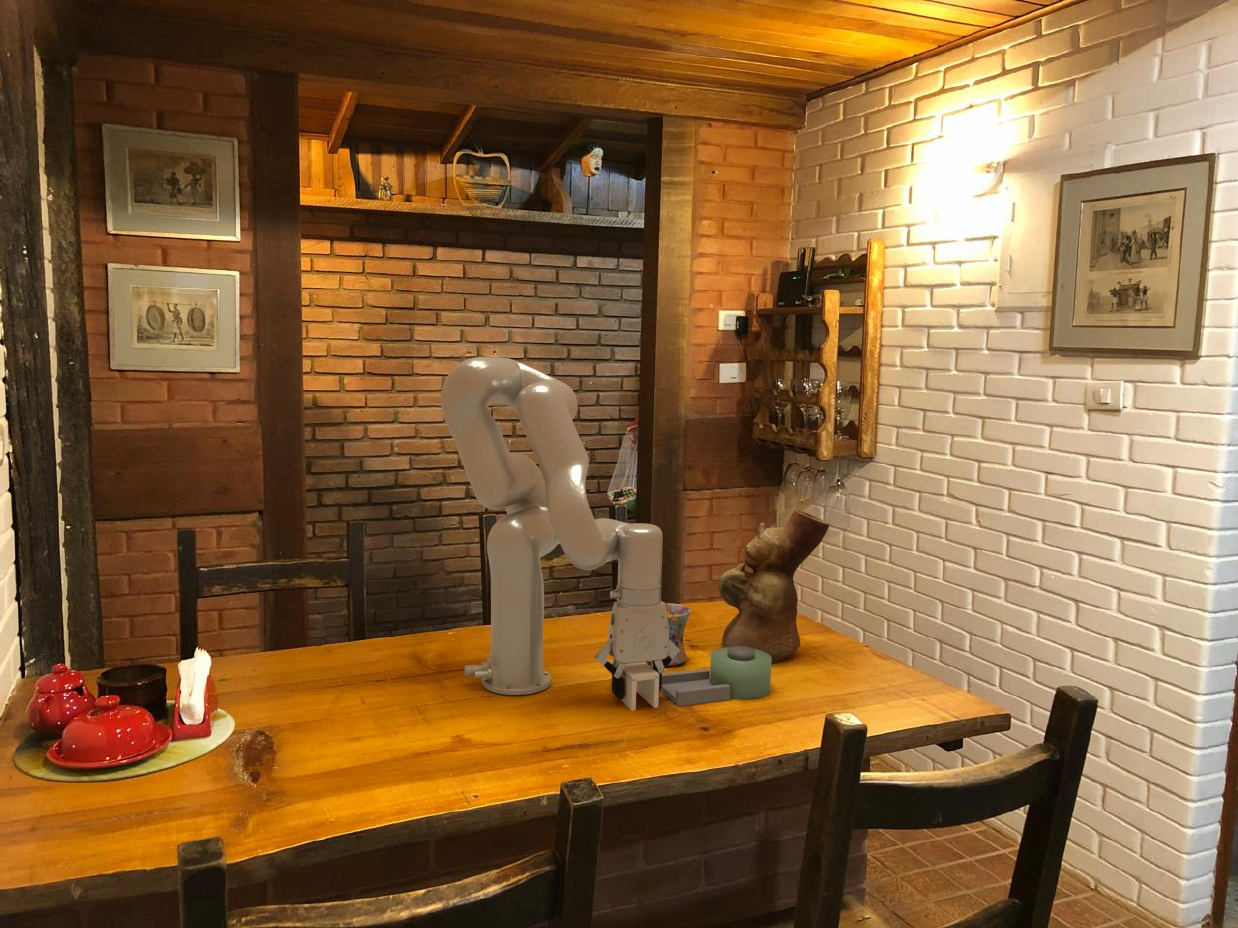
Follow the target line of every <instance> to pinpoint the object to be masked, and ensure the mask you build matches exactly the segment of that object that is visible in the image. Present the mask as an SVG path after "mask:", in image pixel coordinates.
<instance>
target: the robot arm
mask: <svg viewBox="0 0 1238 928" xmlns="http://www.w3.org/2000/svg"><path fill="white" fill-rule="evenodd" d="M440 393H441V394H440V404H441V405H440V407H441V412H442V415H443V416H442V417H443V419H444V421H445V423H446V426H447V428H448V430H449V433H450V434H451V438H452V439H453V441H454V445H455V447H456V449H457V452H458V455H459V458H460V460H461V463H462V465H463V468H464V471H465V473H466V476H467V478H468V481H469V484H470V487H471V488H472V491H473V495H474V496H475V498H476V500H477V501H478V502H479V504H480V505H481V506H483V507H484V508H486V509H490V510H501V509H505V512H506V515H505V516H503V517H501V518H499V519H498V521H496V522H495V523H494V524H493V525H492V527H491V529H490V530H489V533H488V535H487V541H486V549H487V558H488V564H489V571H490V572H489V573H490V602H491V603H490V656H487V657H486V661H483V662H481V664H470V665H469V664H468V665H464V667H463V671H464V676H465V677H473V679H475V680H477V679H481V685H482V687H484V689H485V690H487V691H489V692H492V693H495V694H497V695H505V696H525V695H531V694H535V693H540V692H541V691H544V690H546V689H547V688H549V687H550V686H551V684H552V676H551V674H550V673H549V672H548V671H546V670H544V629H545V628H544V622H545V621H544V619H545V618H544V616H545V585H544V576H543V575H544V574H543V572H542V571H543V570H542V565H541V558H542V557H544V556H546V555H548V554H550V553H551V552H552V551H554V550H555V549H556V548H557V546H558V545H559V544H560V547H561V549H562V551H563V553H564V554H565V556H566V558H567V559H568V560H569V562H570V563H571V564H572V565H573V566H575V567H576V568H578V569H581V570H583V571H594V570H595V569H599V568H600V567H603V565H605V564H606V563H608V562H611V561H613V560H618V562H617V563H618V565H617V570H618V571H617V584H616V589H614V590H610V592H609V596H610V599H615V600H617V601H614V602H613V606H612V610H611V614H610V619H609V627H608V638H607V641H606V643H605V644H603V646H601V648H600V649H599V650H598V651H597V653H596V654H595V655H594V658H595V660H597V662H599V663H600V665H602V666H603V667H604V668H605V669H606V670H607V671H608V672H609V673H610V674H611V694H613V695H614V696H615V697H616V698H617V699H618V700H619V701H621V700H623V698H624V678H623V677H622V672H623V670H624V667H625V665H626V664H631V663H641V662H646V663H651V665H652V666H651V667H652V668H653V669H654V670H655V671H656V672H658V673H659V695H660V692H661V690H660V689H661V687H662V674H665V671H666V668H667V667H668V665H669V664H670V662H671V661H672V659H673V658H674V657H675V656H676V655H677V654H678V653H679V648H678V647H677V646H676V645H675V644H674V643H673V642H672V641H671V640H670V639H669V627H668V617H667V610H666V605H665V603H666V602H665V601H662V600H661V599H662V570H663V568H662V567H663V563H662V562H663V541H664V540H663V531H662V529H661V528H660V527H659V526H657V525H654V524H651V523H635V522H633V523H630V522H629V523H628V522H624V521H620V520H616V519H612V518H605V517H602V518H596V519H595V517H594V515H593V512H592V510H591V508H590V505H589V501H588V497H587V492H586V490H587V489H586V480H587V475H588V471H589V463H590V459H589V455H588V452H587V451H586V448H585V446H584V444H583V442H582V440H581V437H580V435H579V433H578V431H577V429H576V426H575V424H574V422H573V420H574V419H575V417H576V415H577V414H578V413H577V412H578V409H579V408H578V406H579V405H578V398H577V396H576V393H575V391H574V390H573V389H572V388H571V387H570V386H569V385H567V383H564V382H563V381H561V380H558V379H556V378H554V377H552V376H550V375H548V374H546V373H543V372H541V371H539V370H537V369H535V368H533V367H530V366H528V365H526V364H524V363H521V362H519V361H517V360H514V359H512V358H508V357H501V356H500V357H498V356H497V357H496V356H492V357H491V356H477V357H471V358H468V359H467V358H466V359H465V360H463V361H461V362H460V363H458V364H457V365H456V366H454V367H453V368H452V369H451V371H449V373H448V375H447V376H446V378H445V379H444V383H443V386H442V389H441V392H440ZM496 404H497V405H499V404H503V405H505V406H508V407H510V408H512V409H514V410H516V413H517V417H518V419H519V422H520V424H521V426H522V429H523V431H524V433H525V436H526V438H527V440H528V442H529V445H530V446H531V447H530V448H531V449H532V451H533V454H534V456H535V458H536V461H537V463H538V466H537V464H536V463H535V462H534V460H532V459H531V458H530V457H529V456H527V455H525V454H523V453H519V452H510V450H509V447H508V446H507V443H506V441H505V438H504V436H503V432H502V429H501V428H500V425H498V422H497V421H496V420H495V418H494V417H493V415H492V414H491V412H490V410H489V406H490V405H496ZM608 655H609V656H611V657H613V659H612V662H610V661H609V660H608V658H607V657H608Z"/></svg>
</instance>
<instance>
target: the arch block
mask: <svg viewBox="0 0 1238 928" xmlns="http://www.w3.org/2000/svg"><path fill="white" fill-rule="evenodd" d="M652 667H653V666H651V665H649V664H648V662H641V663H631V664H626V665H625V667H624V670H623V672H622V677H623V678H624V698H623V700H620V701H621V702H622V703H623V704H624V705H625V706H626V707H627V708H628V709H629V710H630V711H631V710H632V711H637V710H636V709H637V707H636V706H637V693H638V694H639V696H641V697H642V698H643V699H644V700H645V701H646V702H647V703H648V704H649V705H650V706H651V707H652V708H655V709H656V708H659V696H660V694H659V673H658V672H656V671H655V670H654V669H653V668H652Z"/></svg>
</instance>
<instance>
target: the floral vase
mask: <svg viewBox="0 0 1238 928" xmlns="http://www.w3.org/2000/svg"><path fill="white" fill-rule="evenodd" d="M664 603H665V605H666V610H667V617H668V627H669V639H670V640H671V641H672V642H673V643H674V644H675V645H676V646H677V647H678V648H679V653H678V654H677V655H676V656H675V657H674V658H673V659H672V661H671V662H670V664H669V665H668V666H677V665H681V664H683V663H685V662H686V661H687V659H688V655H687V654H686V651H685V646H684V645H685V644H684V635H685V634H684V633H685V628H686V625H687V621H688V619H689V618H690V614H691V612H692V611H691V608H689V607H687V606H685V605H682V604H677V603H672V602H671V603H669V602H667V603H666V602H664ZM668 666H667V667H668Z"/></svg>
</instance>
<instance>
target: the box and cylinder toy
mask: <svg viewBox="0 0 1238 928" xmlns="http://www.w3.org/2000/svg"><path fill="white" fill-rule="evenodd" d="M771 661H772V658H771V656H770V655H769V654H767V653H765V652H763V651H760V650H757V649H753V648H750V647H746V646H732V647H726V648H722V647H721V648H717V649H715V650H713V651H712V652H711V654H710V667H709V668H710V669H708V668H702V669H694V670H685V671H684V670H683V671H676V672H667V673H665V672H664V673H662V687H661V689H660V692H661V693H663V695H665V696H666V697H668V698H669V699H670V700H671V702H673V703H674V704H675V705H676V706H677V707H683V706H691V705H700V704H701V705H702V704H707V703H709V704H710V703H716V702H724V701H730V700H731V699H735V700H756V699H761V698H764V697H767V696H768V695H769V694H770V692H771V679H772V663H771Z"/></svg>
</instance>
